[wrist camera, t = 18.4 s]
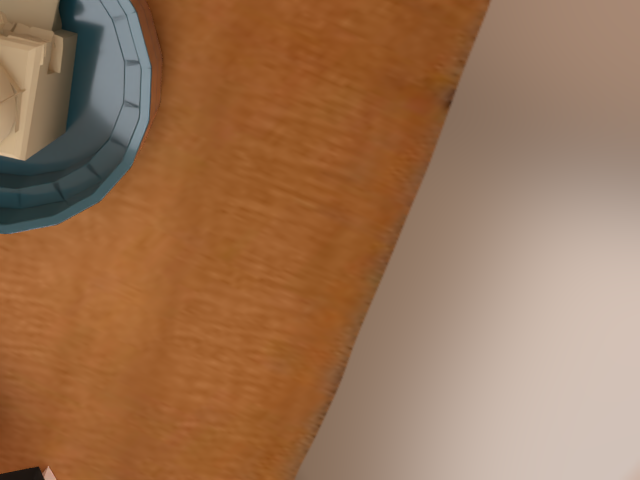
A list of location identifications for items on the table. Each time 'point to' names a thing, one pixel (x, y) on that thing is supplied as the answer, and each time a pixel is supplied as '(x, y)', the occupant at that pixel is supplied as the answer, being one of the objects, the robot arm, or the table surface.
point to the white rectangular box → (48, 474)
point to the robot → (33, 76)
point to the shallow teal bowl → (90, 117)
